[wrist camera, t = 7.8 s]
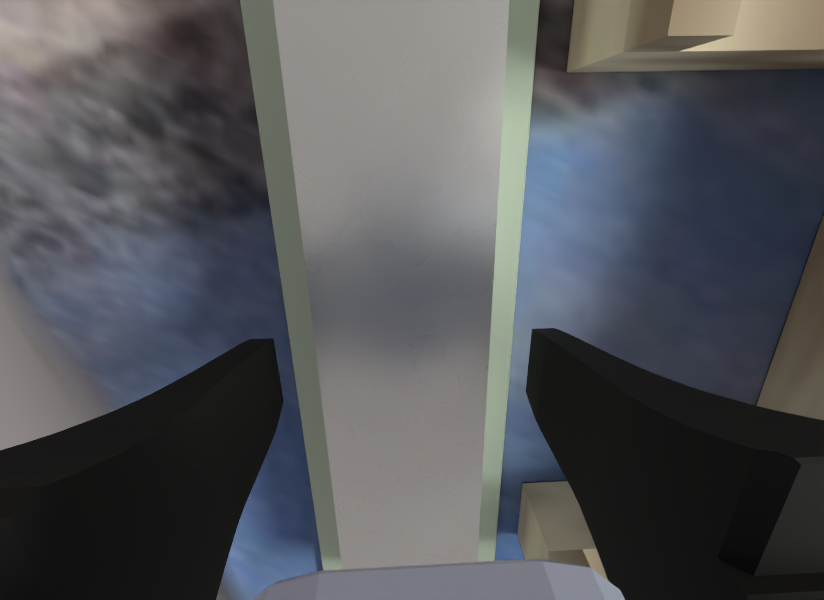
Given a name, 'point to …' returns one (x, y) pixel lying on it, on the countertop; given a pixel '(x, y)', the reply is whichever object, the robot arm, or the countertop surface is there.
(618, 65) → the rail stand
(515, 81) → the mat
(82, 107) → the countertop surface
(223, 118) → the countertop surface
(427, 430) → the rail
